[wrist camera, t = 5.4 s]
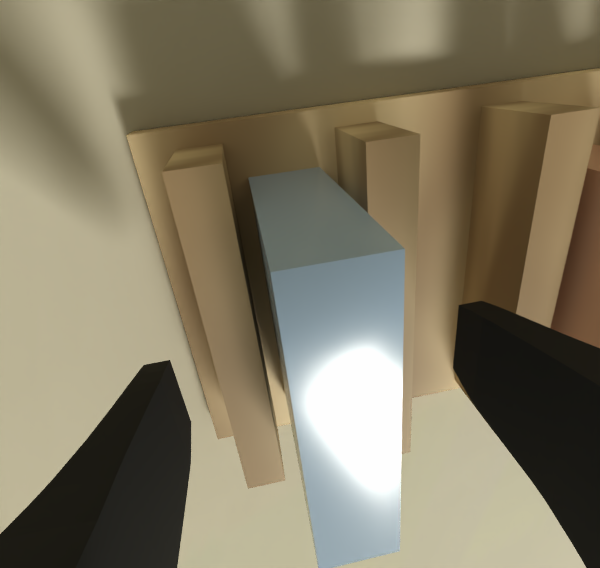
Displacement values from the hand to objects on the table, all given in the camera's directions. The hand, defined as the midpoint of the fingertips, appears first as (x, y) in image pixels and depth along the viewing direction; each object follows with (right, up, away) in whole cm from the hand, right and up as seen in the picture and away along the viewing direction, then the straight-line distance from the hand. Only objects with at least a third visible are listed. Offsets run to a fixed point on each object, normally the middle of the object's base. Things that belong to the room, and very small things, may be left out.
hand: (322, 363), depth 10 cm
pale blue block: (-1, +2, +3) cm, 3 cm away
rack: (+3, +3, +4) cm, 6 cm away
